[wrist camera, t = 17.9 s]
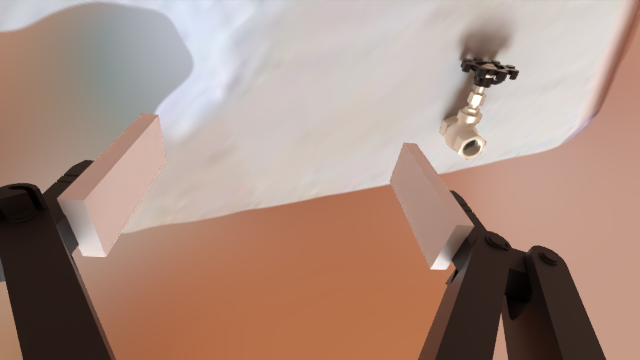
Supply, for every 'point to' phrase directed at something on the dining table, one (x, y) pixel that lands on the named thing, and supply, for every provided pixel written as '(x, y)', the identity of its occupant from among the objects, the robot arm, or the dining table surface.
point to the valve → (474, 107)
